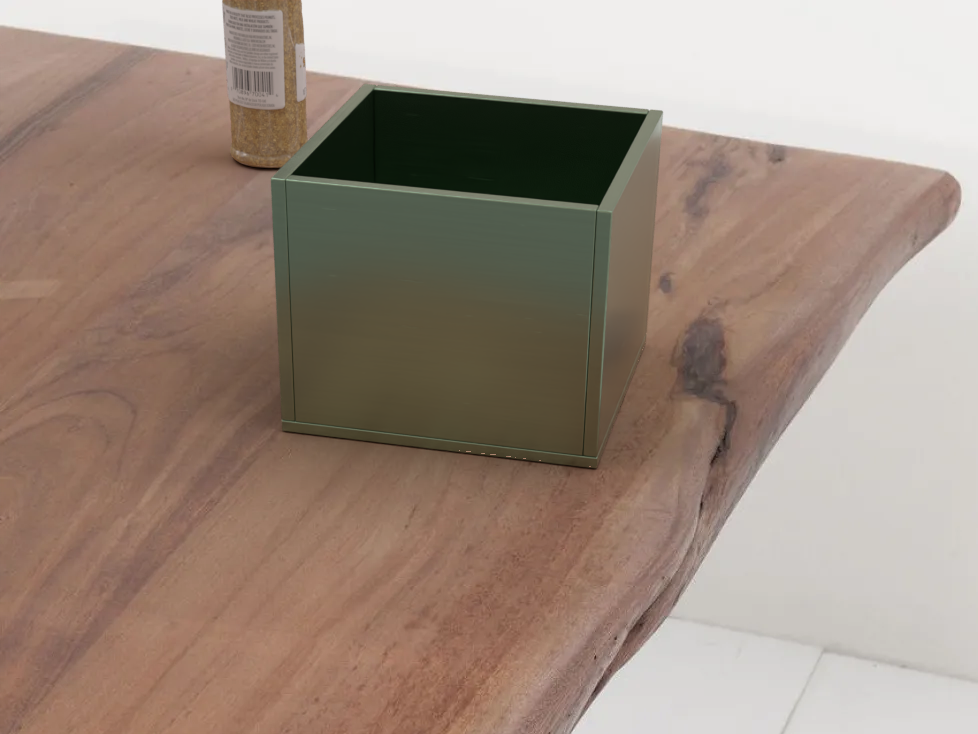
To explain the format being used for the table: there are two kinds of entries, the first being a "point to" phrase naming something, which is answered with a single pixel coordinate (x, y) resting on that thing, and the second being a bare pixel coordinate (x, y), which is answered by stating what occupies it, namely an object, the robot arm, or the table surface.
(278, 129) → the sprinkles bottle
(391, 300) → the bin
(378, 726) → the table surface
